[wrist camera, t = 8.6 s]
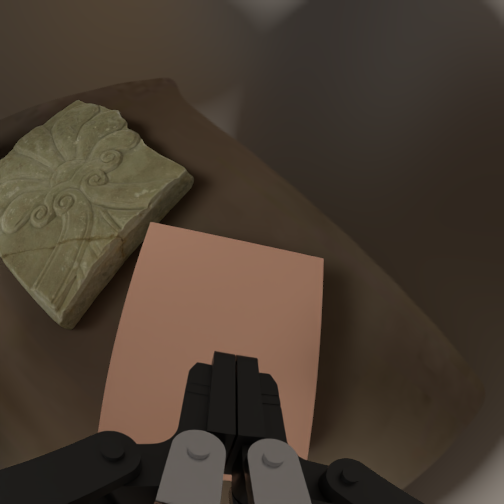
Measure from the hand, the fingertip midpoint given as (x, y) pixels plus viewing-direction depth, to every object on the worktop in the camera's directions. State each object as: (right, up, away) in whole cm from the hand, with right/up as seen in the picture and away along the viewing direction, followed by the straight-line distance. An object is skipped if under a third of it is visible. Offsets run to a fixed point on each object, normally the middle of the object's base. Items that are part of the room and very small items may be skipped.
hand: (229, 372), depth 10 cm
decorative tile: (-17, +10, +15) cm, 24 cm away
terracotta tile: (-2, -9, +4) cm, 10 cm away
